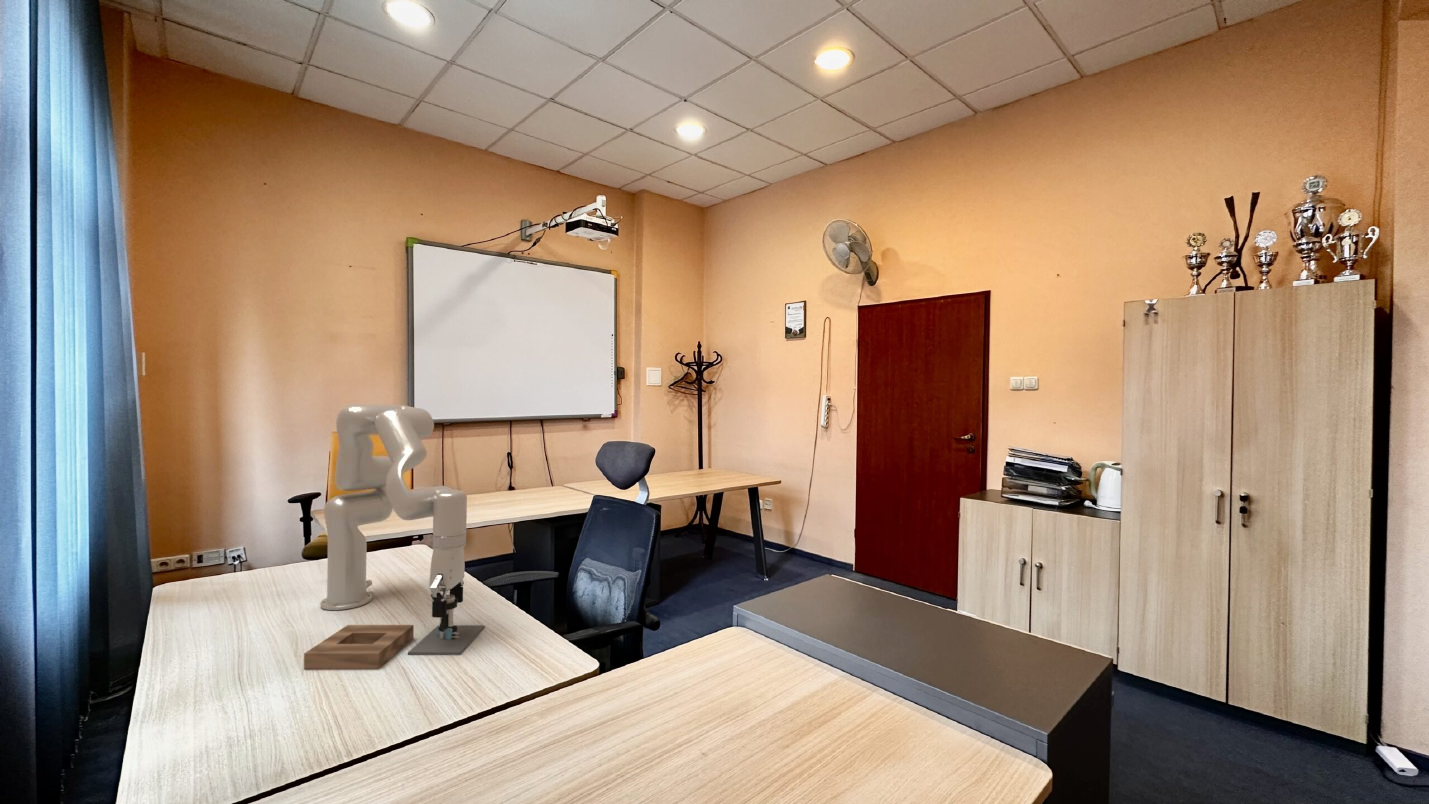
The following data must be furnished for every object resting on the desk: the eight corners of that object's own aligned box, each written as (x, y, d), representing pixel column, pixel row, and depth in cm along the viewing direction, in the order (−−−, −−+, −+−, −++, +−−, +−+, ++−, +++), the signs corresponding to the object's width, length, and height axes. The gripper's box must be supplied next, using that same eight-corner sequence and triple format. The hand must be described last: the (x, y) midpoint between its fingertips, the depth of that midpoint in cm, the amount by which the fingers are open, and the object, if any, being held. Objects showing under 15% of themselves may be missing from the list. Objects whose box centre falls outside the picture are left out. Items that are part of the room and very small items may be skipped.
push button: (466, 636, 143) (467, 596, 143) (449, 644, 138) (449, 602, 138) (447, 631, 146) (448, 592, 146) (429, 639, 141) (430, 598, 141)
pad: (438, 627, 149) (438, 625, 149) (484, 627, 150) (484, 625, 150) (407, 654, 133) (407, 652, 133) (459, 654, 134) (460, 652, 134)
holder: (347, 638, 142) (347, 624, 142) (413, 638, 142) (413, 624, 142) (303, 669, 126) (304, 653, 126) (378, 669, 126) (378, 653, 126)
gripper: (448, 532, 150) (447, 596, 150) (417, 549, 133) (415, 623, 133) (477, 532, 150) (476, 597, 151) (450, 550, 133) (448, 623, 133)
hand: (447, 609), depth 142 cm, fingers open, 9 cm apart
